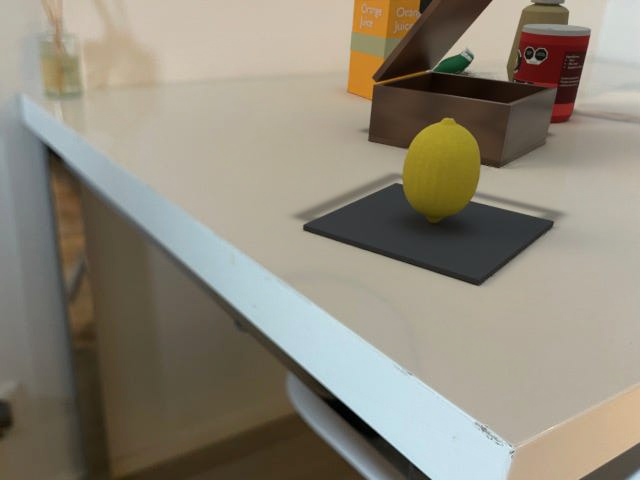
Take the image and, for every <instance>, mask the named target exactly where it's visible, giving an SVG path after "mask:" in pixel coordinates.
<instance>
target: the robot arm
mask: <svg viewBox="0 0 640 480" xmlns="http://www.w3.org/2000/svg"><path fill="white" fill-rule="evenodd" d="M432 1H433V0H420V6H419V13H420V14H422V13H423V12H424V11H425V10H426V8H427V7H428V6H429V5H430V3H431V2H432Z"/></svg>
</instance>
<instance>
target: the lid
mask: <svg viewBox="0 0 640 480" xmlns="http://www.w3.org/2000/svg"><path fill="white" fill-rule="evenodd" d="M493 1H494V0H433V1H432V2H431V3H430V5H429V6H428V7H427V8H426V10H425V11H424V12H423V13H422V15H421V16H420V17H419V18H418V20H417V21H416V22H415V24H414V25H413V26H412V27H411V29H410V30H409V31H408V32H407V34H406V35H405V36H404V37H403V39H402V40H401V41H400V42H399V44H398V45H397V46H396V48H395V49H394V50H393V51H392V53H391V54H390V55H389V56H388V58H387V59H386V60H385V61H384V63H383V64H382V65H381V66H380V68H379V69H378V70H377V72H376V73H375V74H374V75H373V77H372V79H373V80H374V81H375V82H376V83H377V82H381V81H385V80H390V79H394V78H398V77H402V76H406V75H411V74H415V73H419V72H423V71H426V72H429V71H433V70H434V69H435V68H436V67H437V66H438V65H439V63H440V62H441V61H442V59H443V58H444V57H445V56H447V54H448V52H449V51H450V50H451V49H452V48H453V47H454V46H455V45H456V44H457V43H458V41H459V40H460V39H461V37H462V36H463V35H464V34H465V33H466V32H468V30H469V28H470V27H471V26H472V25H473V24H474V23H475V22H476V21H477V19H478V18H479V17H480V16H481V15H482V14H483V12H484V11H485V10H486V9H487V8H488V7H489V5H490V4H491V3H492V2H493Z"/></svg>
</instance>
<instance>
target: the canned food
mask: <svg viewBox="0 0 640 480" xmlns="http://www.w3.org/2000/svg"><path fill="white" fill-rule="evenodd" d="M591 32H592V29H591V28H590V27H587V26H582V25H581V26H580V25H571V24H568V25H559V24H527V25H524V26H523V29H522V32H521V38H520V42H519V47H518V53H517V58H516V64H515V69H514V75H513V80H512V82H518V83H526V84H533V85H541V86H549V87H556V88H557V93H556V97H555V102H554V107H553V111H552V116H551V120H550V123H563V122H566V121H569V120H570V118H571V116H572V115H573V112H574V108H575V103H576V99H577V96H578V91H579V86H580V82H581V79H582V75H583V70H584V66H585V62H586V58H587V53H588V48H589V45H590V39H591V36H592V35H591V34H592V33H591Z"/></svg>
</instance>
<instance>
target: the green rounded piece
mask: <svg viewBox="0 0 640 480" xmlns="http://www.w3.org/2000/svg"><path fill="white" fill-rule="evenodd" d="M474 59H475V55H474V53H473V52H472V50H471V49H470V48H469V47H468V46H466V47H465V48H464V49H463V50H462V51H461V52H460V53H458V54H455V55H451V56H449V57H446V58H444V59H443V60H442V59H441V60H440V62H439V63H438V64H437V65H436V66H435V67H434V69H433V70H432V71H433V72H441V73H449V74H457V75H463V74H464V72H465V70H466V69H467V68H468V67H470V65H471V64H472V63H473V61H474Z"/></svg>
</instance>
